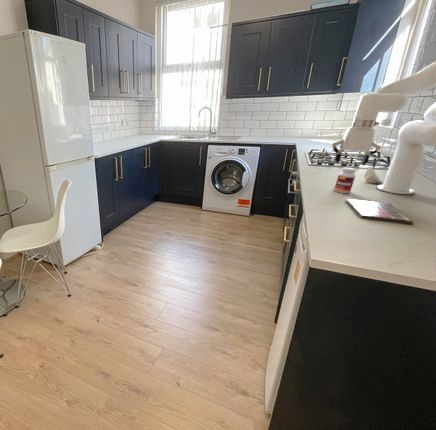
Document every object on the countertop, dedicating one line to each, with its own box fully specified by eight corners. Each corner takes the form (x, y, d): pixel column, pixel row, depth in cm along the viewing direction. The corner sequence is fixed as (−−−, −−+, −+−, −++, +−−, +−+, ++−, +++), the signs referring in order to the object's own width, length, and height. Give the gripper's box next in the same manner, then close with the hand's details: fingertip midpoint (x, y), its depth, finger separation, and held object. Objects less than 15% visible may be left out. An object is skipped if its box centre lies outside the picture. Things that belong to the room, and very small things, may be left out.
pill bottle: (333, 191, 132) (340, 168, 128) (334, 188, 136) (341, 166, 132) (349, 194, 128) (357, 170, 124) (350, 191, 132) (357, 168, 128)
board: (346, 201, 119) (347, 198, 118) (388, 206, 113) (389, 203, 113) (360, 217, 102) (362, 214, 101) (411, 224, 96) (413, 221, 96)
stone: (388, 187, 143) (389, 172, 137) (372, 192, 145) (373, 178, 140) (374, 175, 151) (374, 161, 145) (359, 180, 153) (359, 167, 148)
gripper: (384, 124, 120) (370, 164, 127) (336, 123, 127) (325, 160, 134) (392, 126, 114) (376, 167, 121) (340, 124, 121) (328, 163, 127)
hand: (349, 163), depth 127 cm, fingers open, 9 cm apart
